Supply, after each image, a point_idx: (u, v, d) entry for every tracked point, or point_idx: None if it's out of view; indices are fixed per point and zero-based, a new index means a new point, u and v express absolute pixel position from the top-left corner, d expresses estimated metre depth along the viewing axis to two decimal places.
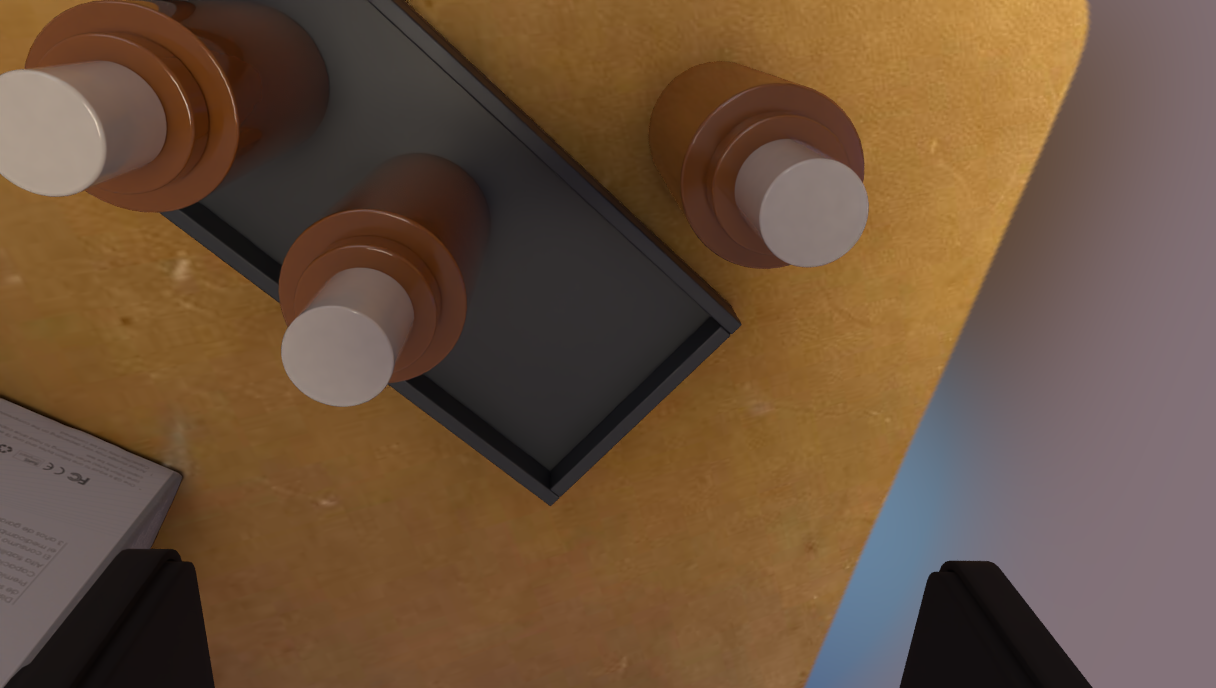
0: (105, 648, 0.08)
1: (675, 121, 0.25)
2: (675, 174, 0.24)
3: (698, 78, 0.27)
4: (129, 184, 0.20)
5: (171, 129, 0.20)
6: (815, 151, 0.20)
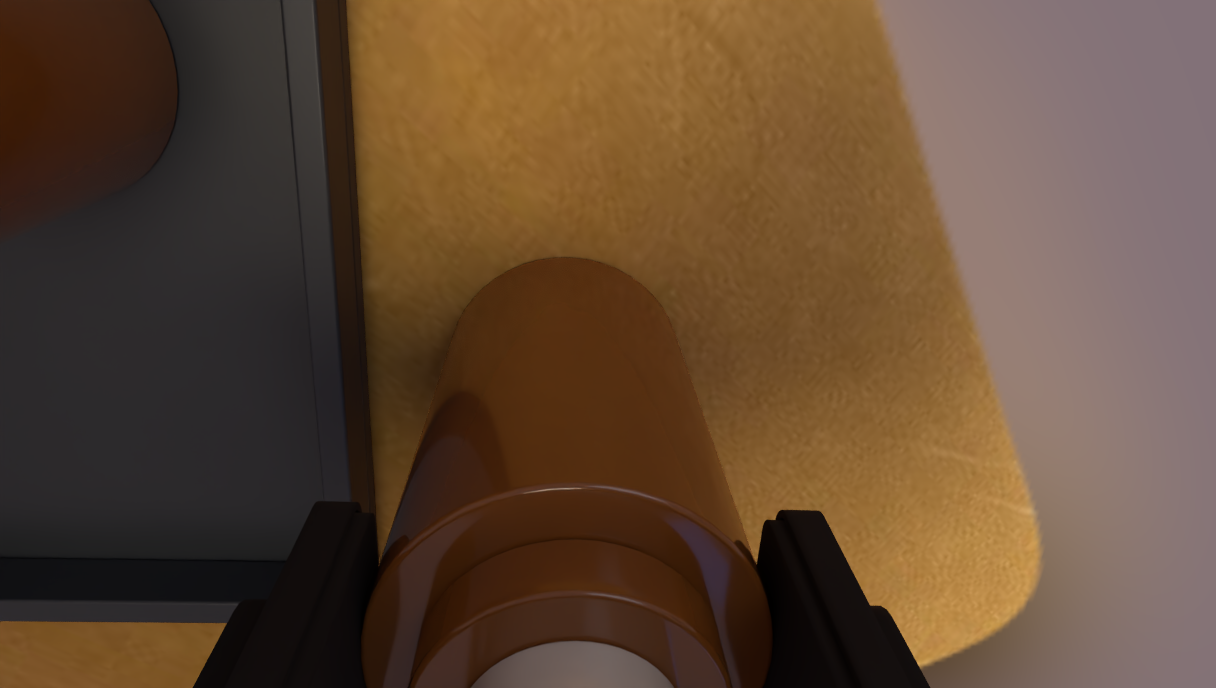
0: (327, 581, 0.09)
1: (524, 365, 0.12)
2: (433, 482, 0.10)
3: (613, 316, 0.15)
4: None
5: None
6: None
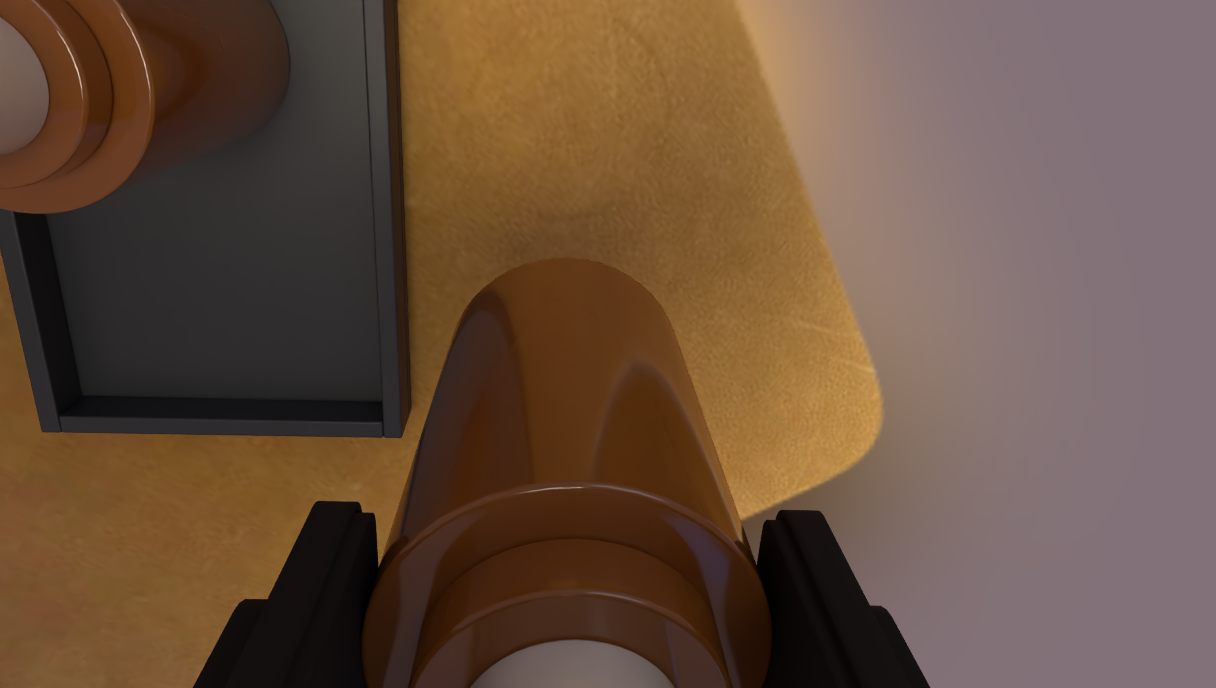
0: (328, 581, 0.09)
1: (524, 365, 0.12)
2: (433, 482, 0.10)
3: (613, 316, 0.15)
4: None
5: None
6: None
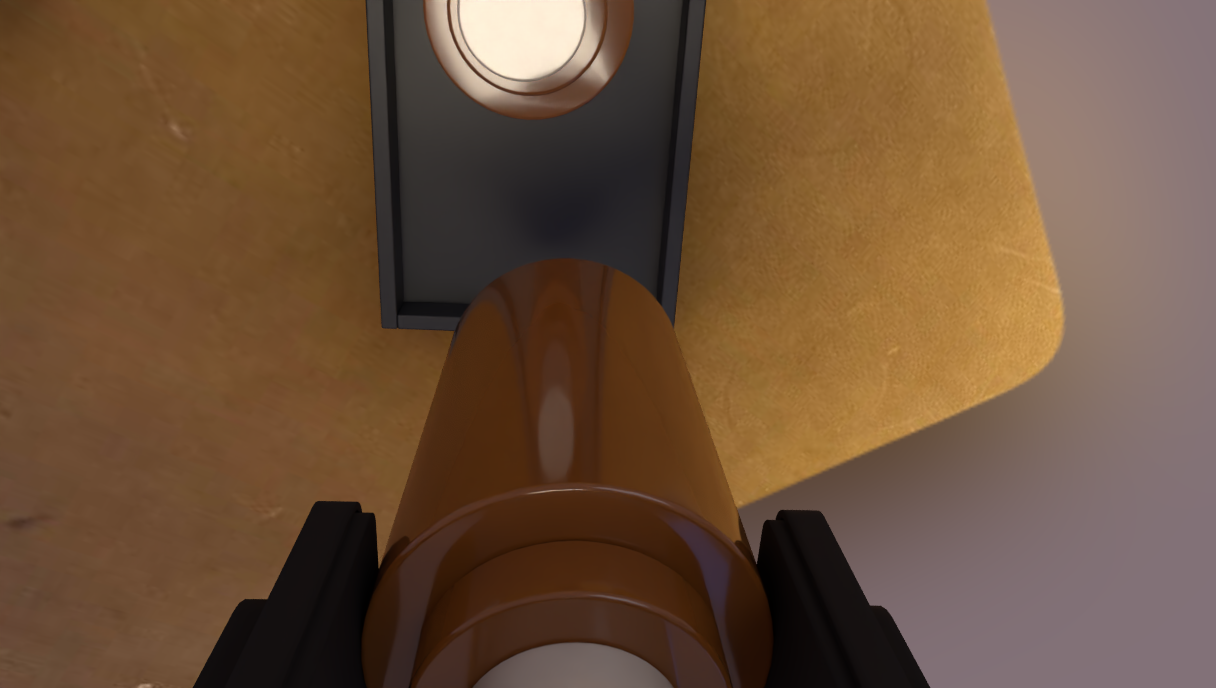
0: (327, 581, 0.09)
1: (524, 366, 0.12)
2: (433, 483, 0.10)
3: (613, 317, 0.15)
4: None
5: None
6: None
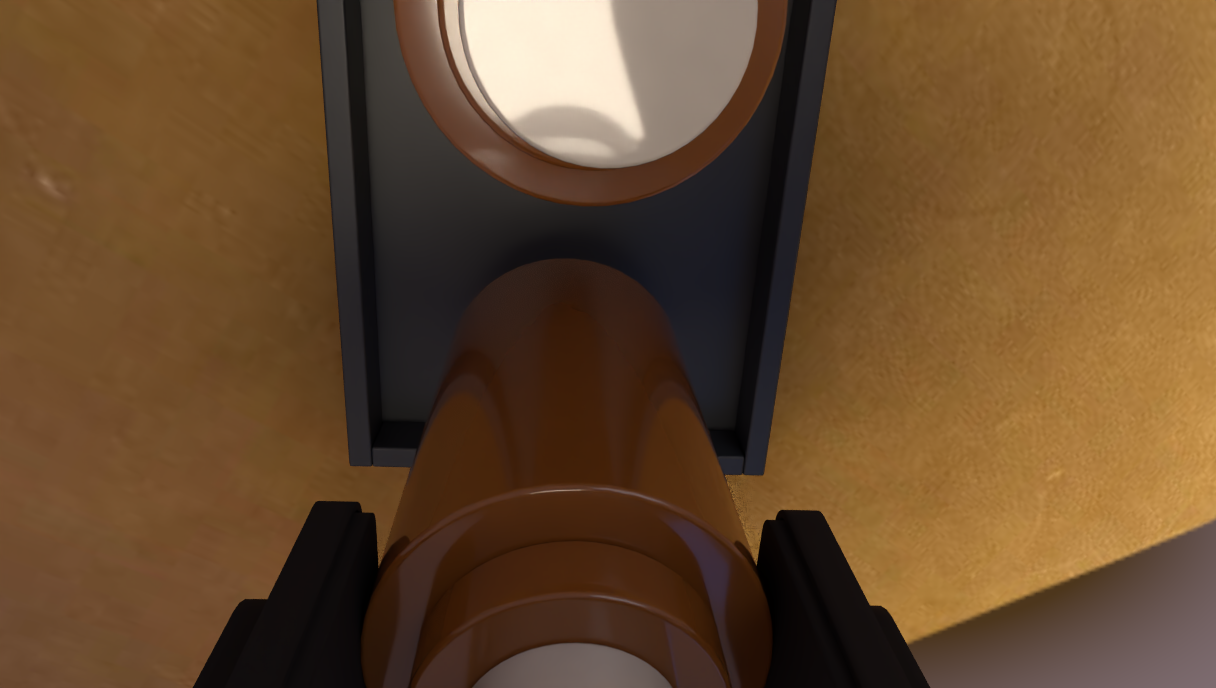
0: (327, 581, 0.09)
1: (524, 367, 0.12)
2: (433, 484, 0.10)
3: (613, 318, 0.15)
4: None
5: None
6: None
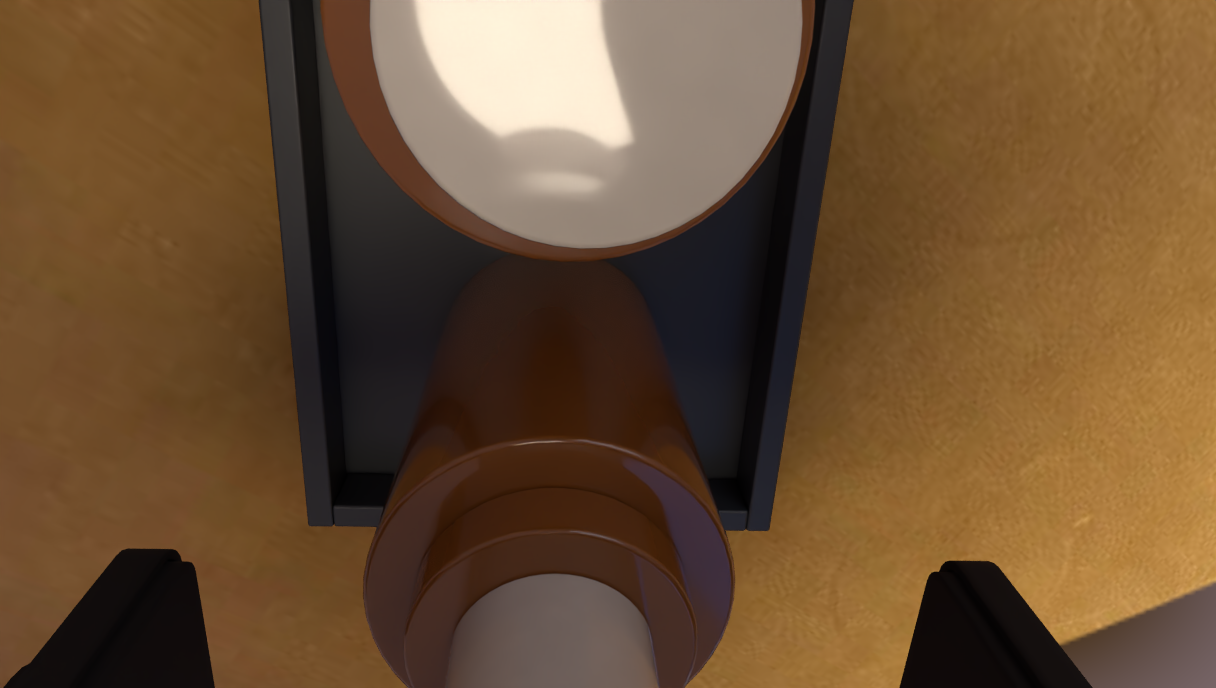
0: (105, 648, 0.08)
1: (511, 341, 0.14)
2: (428, 441, 0.12)
3: (594, 299, 0.16)
4: None
5: None
6: None
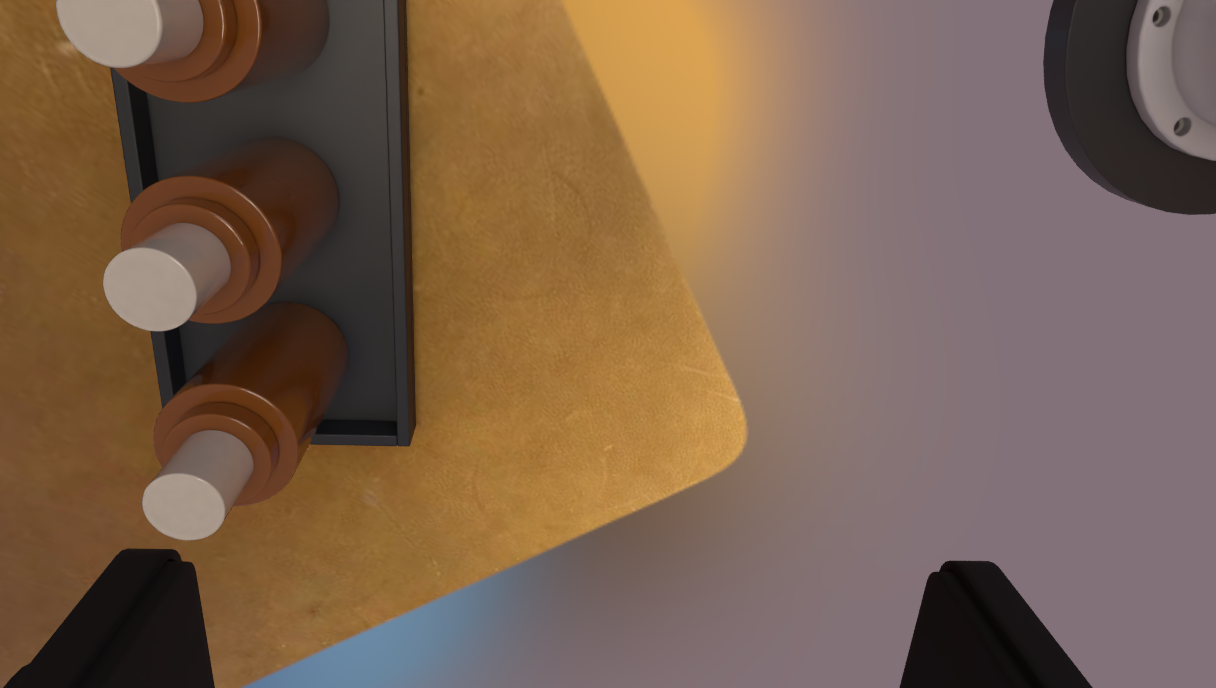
0: (104, 648, 0.08)
1: (230, 349, 0.33)
2: None
3: (285, 330, 0.35)
4: None
5: (188, 58, 0.24)
6: (226, 472, 0.28)
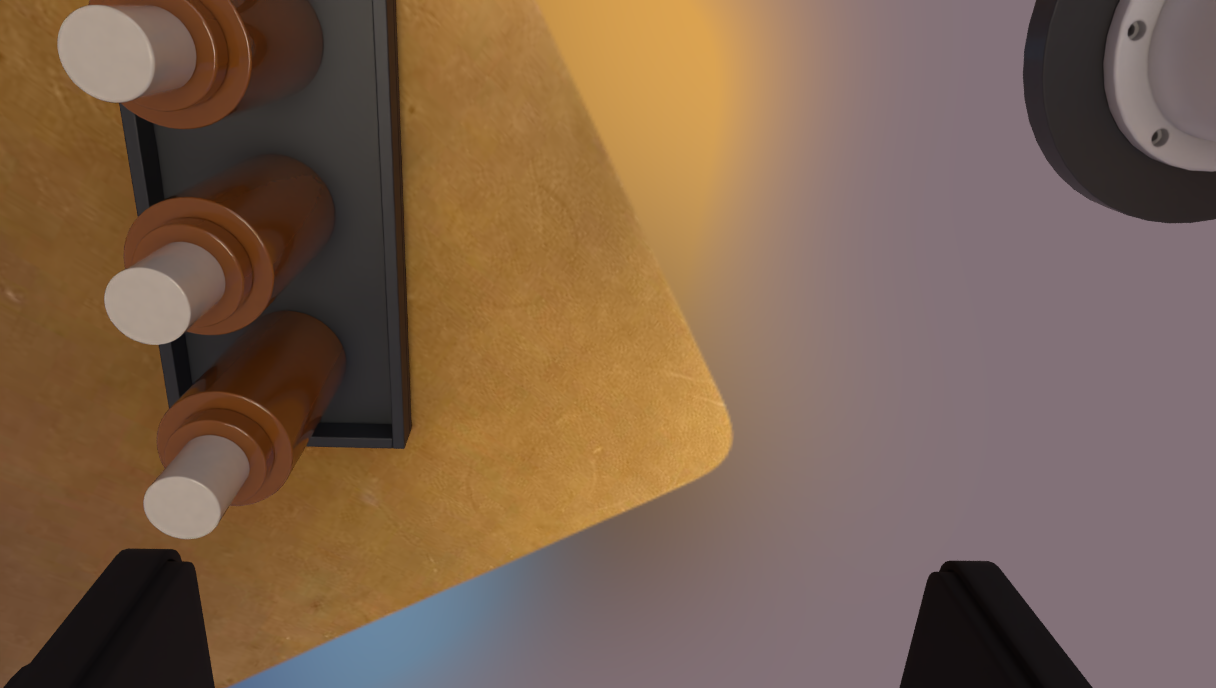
0: (105, 648, 0.08)
1: (230, 357, 0.34)
2: (183, 394, 0.32)
3: (283, 338, 0.37)
4: None
5: (182, 89, 0.26)
6: (222, 475, 0.29)
